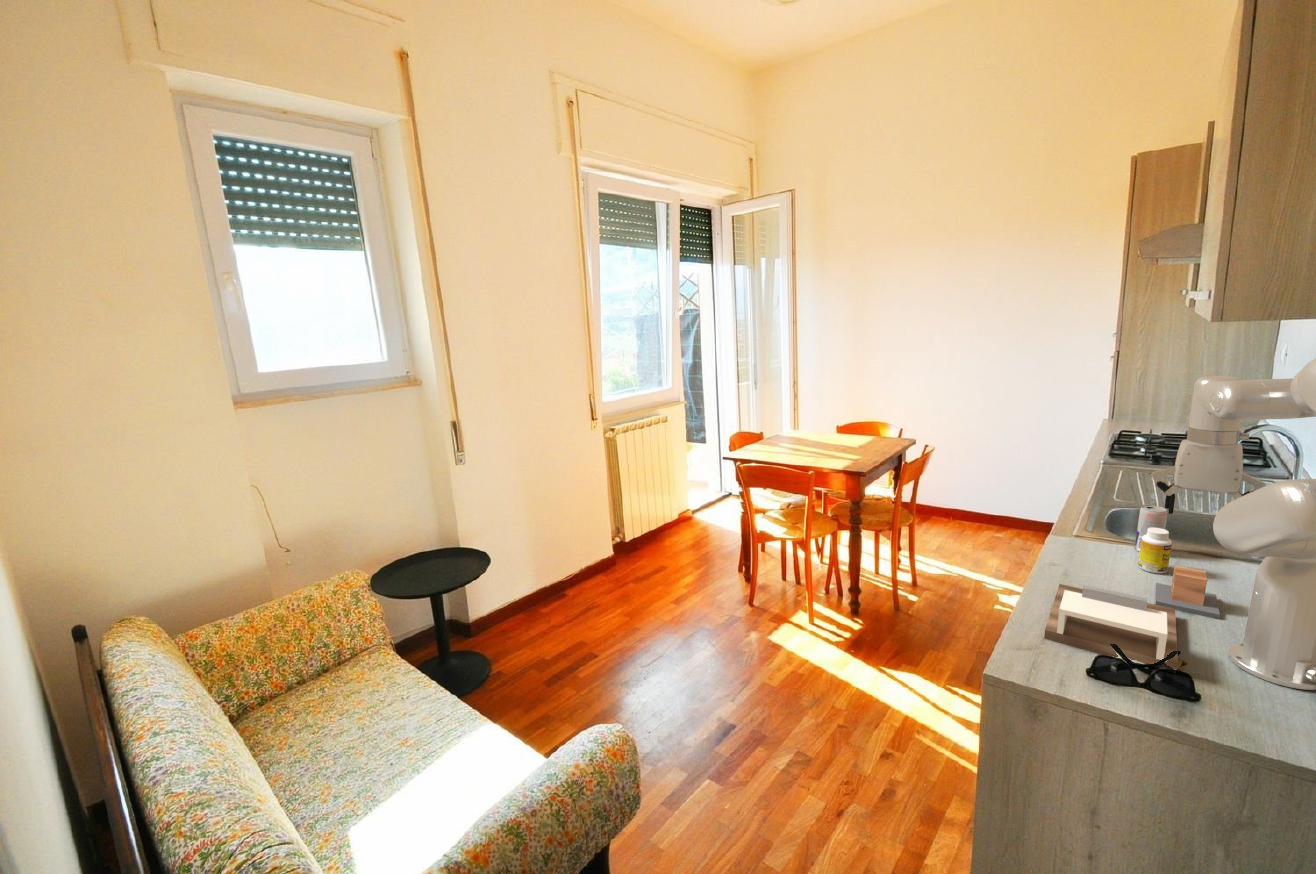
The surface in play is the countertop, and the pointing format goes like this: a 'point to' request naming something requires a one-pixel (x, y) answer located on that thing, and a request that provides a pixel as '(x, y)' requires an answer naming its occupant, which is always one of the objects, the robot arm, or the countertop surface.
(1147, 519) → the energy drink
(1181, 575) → the block
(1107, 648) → the puzzle board
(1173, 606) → the slate mat
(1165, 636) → the cream bridge stand
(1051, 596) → the countertop surface
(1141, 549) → the supplement bottle
